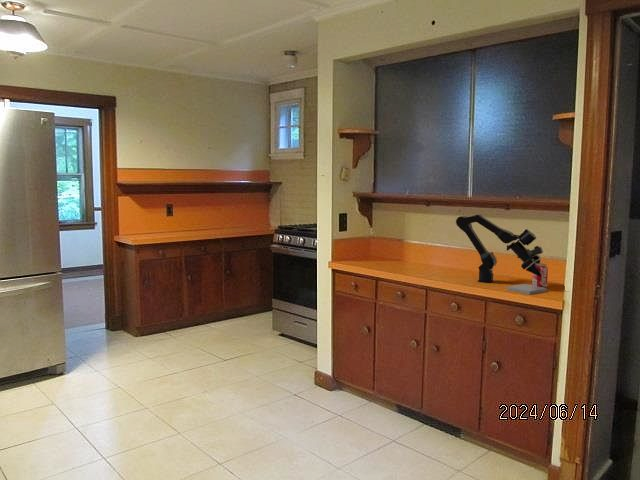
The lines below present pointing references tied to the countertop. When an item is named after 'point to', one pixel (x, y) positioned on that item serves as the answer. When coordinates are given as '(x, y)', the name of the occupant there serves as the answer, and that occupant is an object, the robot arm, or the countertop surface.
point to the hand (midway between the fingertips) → (542, 274)
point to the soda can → (540, 280)
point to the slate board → (527, 289)
